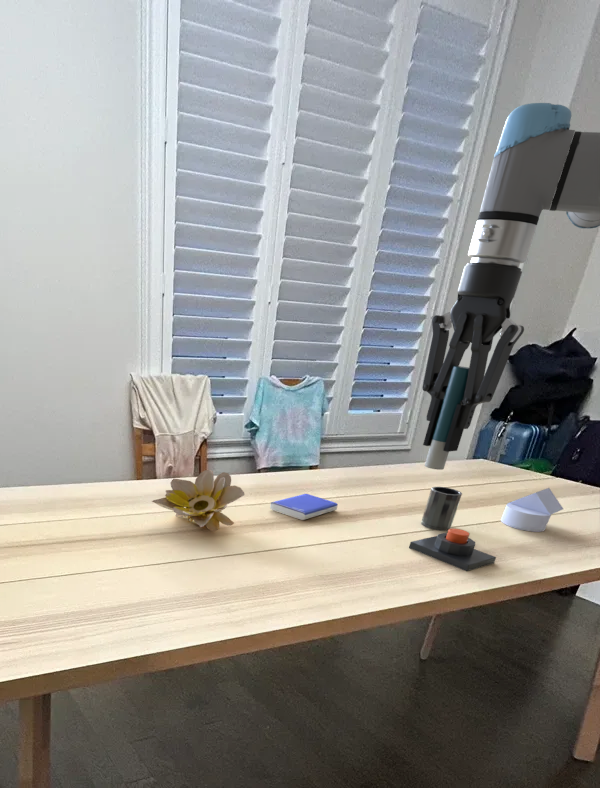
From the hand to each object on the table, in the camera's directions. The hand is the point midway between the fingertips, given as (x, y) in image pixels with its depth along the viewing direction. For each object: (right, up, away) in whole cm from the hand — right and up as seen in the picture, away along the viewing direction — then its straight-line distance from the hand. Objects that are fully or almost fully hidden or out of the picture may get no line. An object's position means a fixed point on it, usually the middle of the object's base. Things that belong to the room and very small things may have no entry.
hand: (439, 447), depth 99 cm
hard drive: (-16, 0, +29) cm, 33 cm away
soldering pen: (0, -2, +2) cm, 3 cm away
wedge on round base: (+33, 0, +38) cm, 51 cm away
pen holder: (+10, -3, +29) cm, 31 cm away
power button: (+8, -11, +13) cm, 19 cm away
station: (+8, -13, +15) cm, 21 cm away
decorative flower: (-39, -7, +15) cm, 42 cm away
